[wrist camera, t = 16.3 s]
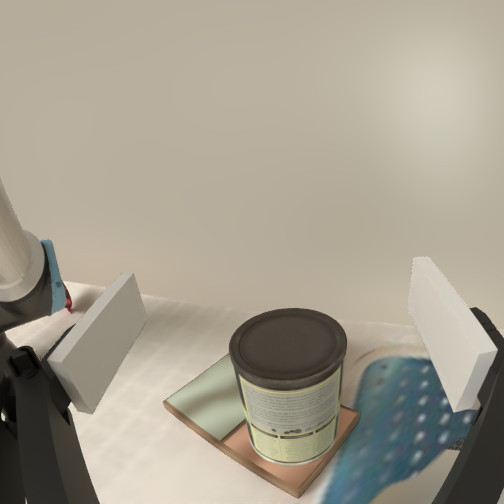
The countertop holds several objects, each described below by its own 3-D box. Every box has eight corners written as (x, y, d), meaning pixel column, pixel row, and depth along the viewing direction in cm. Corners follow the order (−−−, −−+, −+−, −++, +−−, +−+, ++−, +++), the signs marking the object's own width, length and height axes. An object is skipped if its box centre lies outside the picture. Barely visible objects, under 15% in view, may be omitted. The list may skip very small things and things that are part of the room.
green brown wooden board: (165, 408, 40) (162, 400, 39) (230, 360, 49) (228, 352, 48) (297, 498, 26) (297, 492, 25) (359, 419, 35) (360, 411, 34)
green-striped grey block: (465, 389, 35) (482, 346, 31) (505, 393, 31) (526, 350, 28) (464, 410, 31) (484, 367, 28) (506, 414, 28) (530, 371, 25)
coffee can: (232, 423, 35) (209, 333, 30) (303, 387, 39) (299, 296, 34) (279, 483, 27) (269, 402, 21) (356, 434, 31) (371, 341, 25)
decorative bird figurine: (68, 299, 73) (55, 263, 69) (87, 326, 61) (71, 284, 57) (58, 303, 71) (45, 268, 67) (76, 332, 59) (58, 290, 55)
